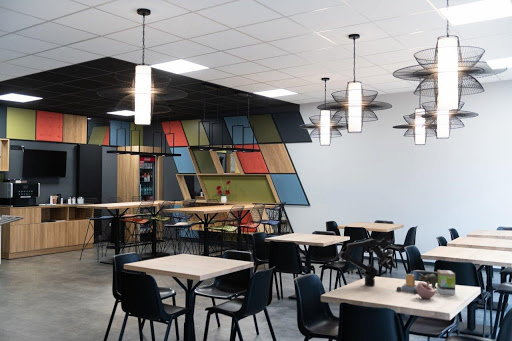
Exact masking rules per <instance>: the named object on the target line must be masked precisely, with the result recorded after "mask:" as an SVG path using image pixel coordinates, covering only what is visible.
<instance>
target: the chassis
mask: <svg viewBox="0 0 512 341" xmlns="http://www.w3.org/2000/svg"><path fill="white" fill-rule="evenodd" d="M417 285H418V284H415V287H410V286H406V283H404V284H402V285H401V286H396V291H397V292H405V293H412V294H418V293H417Z"/></svg>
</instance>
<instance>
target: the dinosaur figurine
mask: <svg viewBox="0 0 512 341" xmlns="http://www.w3.org/2000/svg"><path fill="white" fill-rule="evenodd" d="M418 274H420V275H419V276H418V280H419V281H423V283H426V284H428V283H427V282H429V283H430V284H429V285H431V287H432V288H433V289H434V290H435V289H437V274H434V273H431V274H429V273H427V274H426V275H424V274H422V273H420V272H419V273H418Z"/></svg>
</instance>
